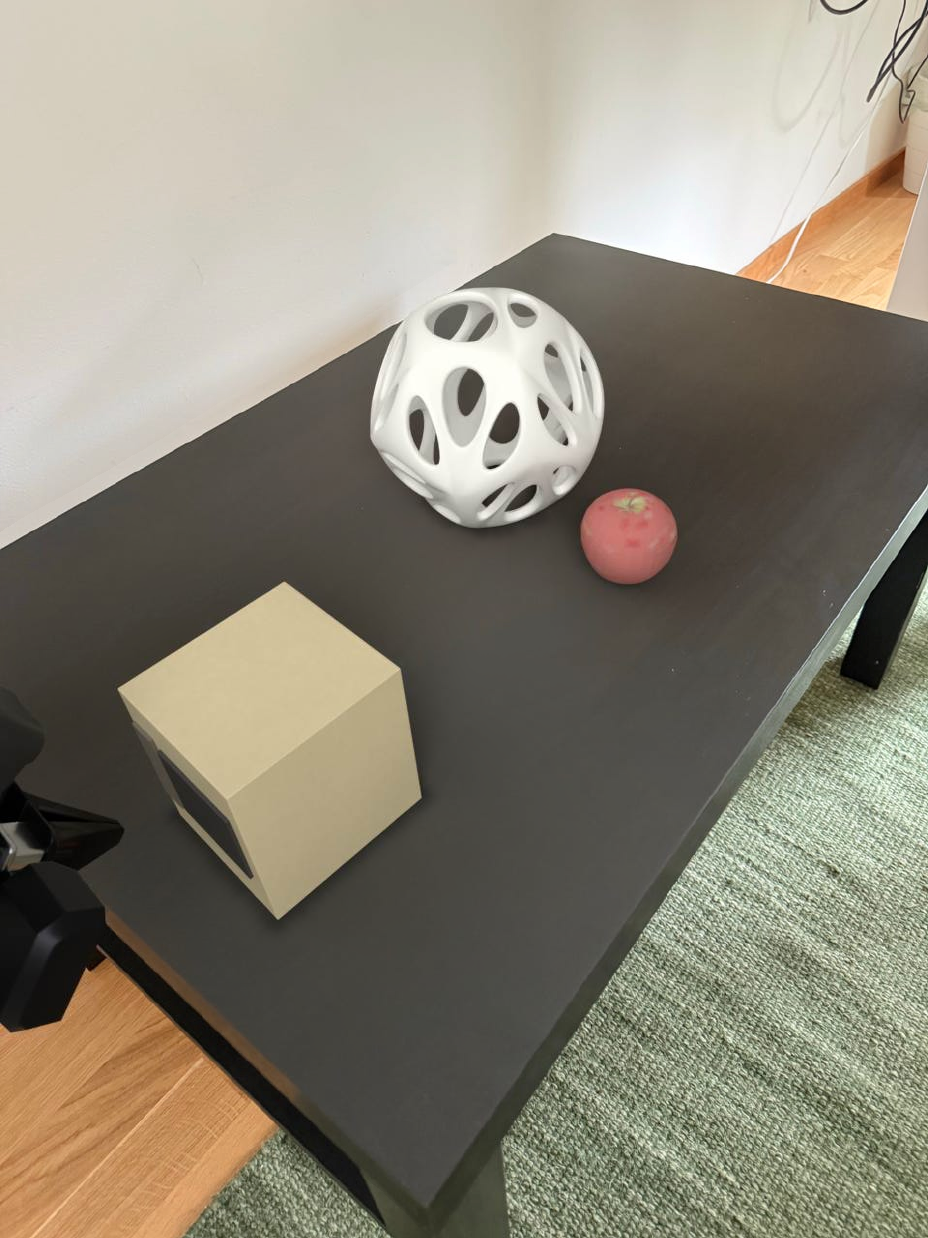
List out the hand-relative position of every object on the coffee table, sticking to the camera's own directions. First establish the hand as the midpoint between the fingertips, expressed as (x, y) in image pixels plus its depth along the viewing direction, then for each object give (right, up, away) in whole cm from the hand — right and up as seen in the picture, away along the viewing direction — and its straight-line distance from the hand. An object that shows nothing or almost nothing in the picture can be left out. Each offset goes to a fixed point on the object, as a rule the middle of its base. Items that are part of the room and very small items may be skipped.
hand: (118, 832), depth 51 cm
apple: (+32, +15, +26) cm, 44 cm away
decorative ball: (+21, +23, +34) cm, 46 cm away
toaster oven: (+8, -1, +11) cm, 14 cm away
